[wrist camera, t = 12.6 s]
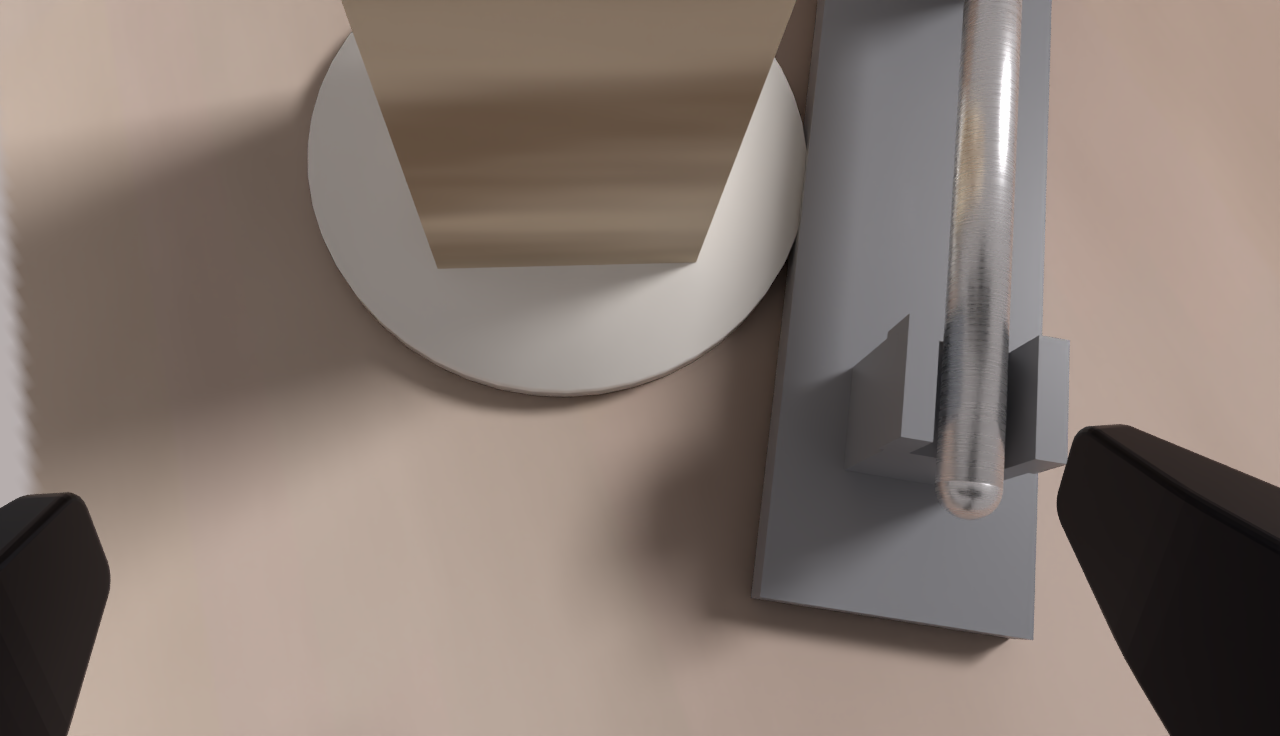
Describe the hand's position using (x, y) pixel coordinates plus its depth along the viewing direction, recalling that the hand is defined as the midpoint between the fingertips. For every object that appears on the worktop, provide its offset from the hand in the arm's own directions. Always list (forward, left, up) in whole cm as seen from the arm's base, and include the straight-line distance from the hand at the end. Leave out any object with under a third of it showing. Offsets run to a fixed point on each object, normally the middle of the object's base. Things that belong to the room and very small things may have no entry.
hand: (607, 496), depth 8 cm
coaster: (+7, -3, -9) cm, 12 cm away
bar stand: (+4, -10, -9) cm, 14 cm away
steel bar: (+4, -10, -6) cm, 12 cm away
